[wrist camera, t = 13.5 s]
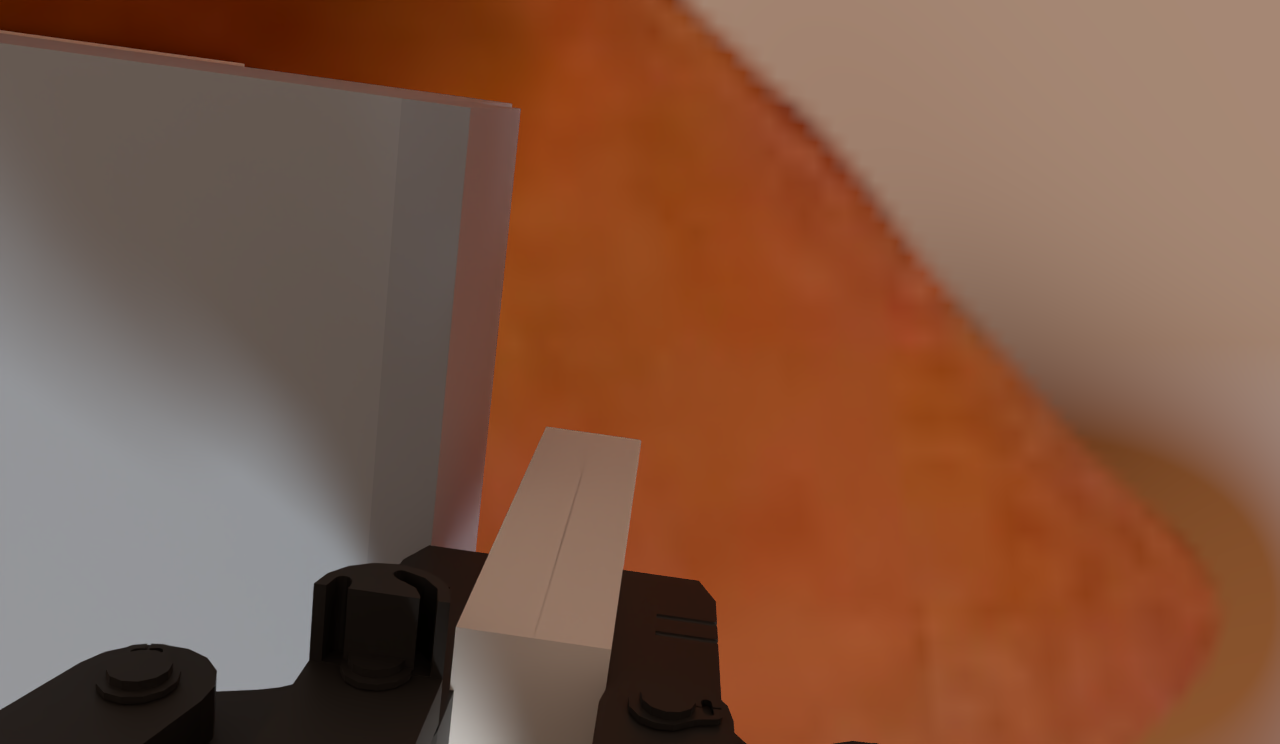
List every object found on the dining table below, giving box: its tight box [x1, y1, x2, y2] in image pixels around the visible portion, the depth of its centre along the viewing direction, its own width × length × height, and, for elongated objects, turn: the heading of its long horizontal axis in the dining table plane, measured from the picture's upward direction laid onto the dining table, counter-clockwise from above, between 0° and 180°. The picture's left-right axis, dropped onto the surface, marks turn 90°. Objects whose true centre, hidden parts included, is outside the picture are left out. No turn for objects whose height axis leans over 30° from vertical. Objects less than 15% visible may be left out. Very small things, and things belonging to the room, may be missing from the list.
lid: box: [0, 33, 521, 710], centre depth 17 cm, size 15×12×8 cm
